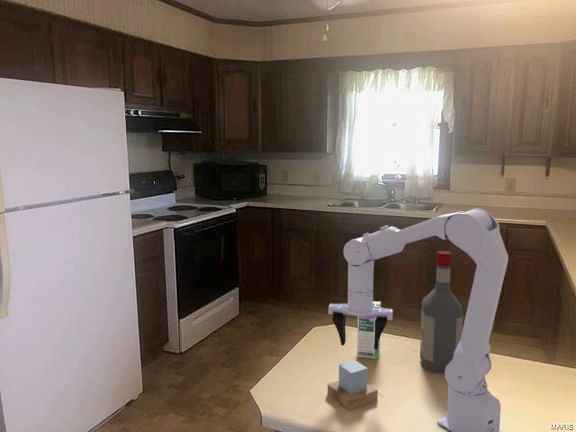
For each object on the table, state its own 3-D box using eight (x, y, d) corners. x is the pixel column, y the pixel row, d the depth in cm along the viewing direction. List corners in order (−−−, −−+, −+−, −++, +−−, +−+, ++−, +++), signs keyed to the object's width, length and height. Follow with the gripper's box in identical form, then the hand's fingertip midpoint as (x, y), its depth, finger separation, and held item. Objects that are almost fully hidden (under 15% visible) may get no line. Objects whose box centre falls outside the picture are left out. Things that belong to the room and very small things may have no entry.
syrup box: (356, 357, 125) (357, 305, 123) (359, 348, 131) (360, 299, 129) (378, 359, 123) (379, 307, 121) (380, 350, 129) (381, 300, 127)
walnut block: (377, 402, 104) (377, 390, 103) (349, 413, 100) (349, 400, 99) (354, 387, 110) (354, 375, 110) (327, 396, 106) (327, 384, 106)
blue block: (366, 389, 104) (367, 368, 103) (350, 394, 101) (351, 373, 101) (354, 380, 108) (355, 360, 107) (338, 385, 105) (339, 364, 105)
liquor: (424, 372, 116) (428, 256, 112) (418, 356, 125) (422, 248, 121) (462, 374, 115) (467, 257, 111) (453, 358, 124) (458, 248, 120)
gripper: (394, 286, 107) (392, 342, 109) (332, 282, 112) (332, 335, 114) (391, 296, 101) (390, 354, 103) (326, 290, 105) (326, 347, 107)
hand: (359, 345), depth 108 cm, fingers open, 7 cm apart
